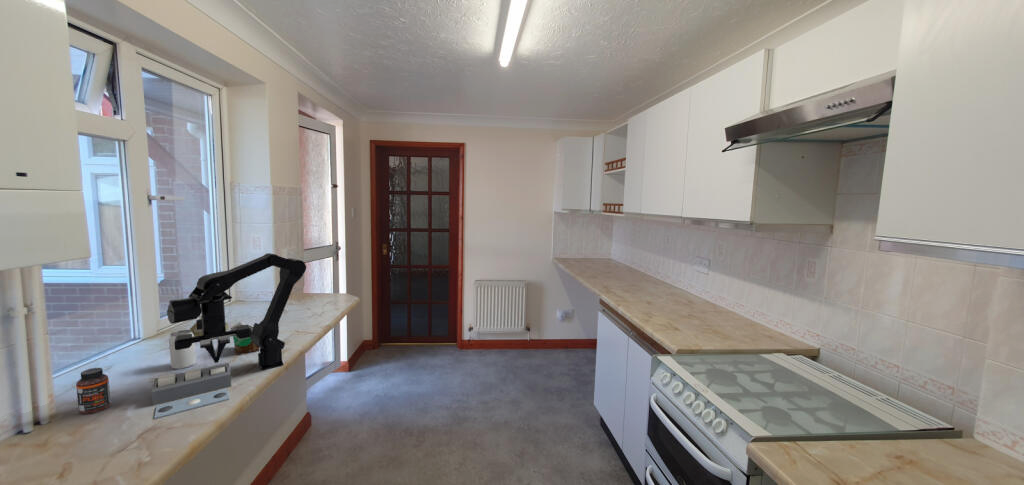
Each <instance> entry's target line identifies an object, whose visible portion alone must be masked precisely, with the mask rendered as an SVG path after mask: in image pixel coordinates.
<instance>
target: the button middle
mask: <svg viewBox="0 0 1024 485" xmlns="http://www.w3.org/2000/svg"><path fill="white" fill-rule="evenodd" d="M201 369H202V368H200V367H199V368H195V369H189V370H185V371H184V372H185V381H187V380H192V379H196V378H201Z"/></svg>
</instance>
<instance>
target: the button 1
mask: <svg viewBox="0 0 1024 485" xmlns="http://www.w3.org/2000/svg"><path fill="white" fill-rule="evenodd" d="M175 374H176V373H172V374H171V373H170V374H166V375H161V376H158V377H157V378H158V387H160V386H165V385H169V384H174V383H175V380H176V379H175Z"/></svg>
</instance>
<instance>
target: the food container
mask: <svg viewBox="0 0 1024 485" xmlns="http://www.w3.org/2000/svg"><path fill="white" fill-rule="evenodd" d="M242 325H243V324H241V321H239V322H236V323H234V324H232V326H231V327H230V331H231V330H236V329H235V327H236V326H242ZM249 326H250V327H251V331H252V329H253V326H251V325H249ZM232 338H233V344H234V351H235V353H236V354H238V355H245V354H246V355H248V354H252V353H253V354H254V353H257V352H260V348H259V347H257V345H256V344H254V343H252V341H251V340H250V337H248V338H242V339H240V338H238V337H237V336H232Z"/></svg>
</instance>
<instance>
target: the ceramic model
mask: <svg viewBox="0 0 1024 485" xmlns="http://www.w3.org/2000/svg"><path fill="white" fill-rule="evenodd" d="M200 319H202V315H200V316H199V319H198V320H200ZM225 323H226V331H228V328H229V323H228V322H225ZM189 330H191V331H192V333H193V335H194V336H201V335H203V331H202V329H201V330H197V322H195V323H193V325H192V326H191V327H190V328H189Z"/></svg>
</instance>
